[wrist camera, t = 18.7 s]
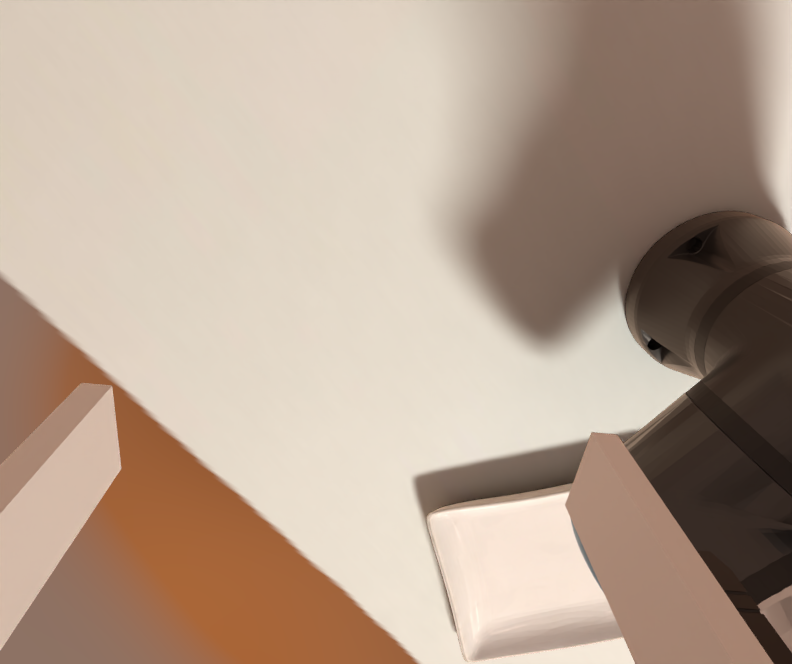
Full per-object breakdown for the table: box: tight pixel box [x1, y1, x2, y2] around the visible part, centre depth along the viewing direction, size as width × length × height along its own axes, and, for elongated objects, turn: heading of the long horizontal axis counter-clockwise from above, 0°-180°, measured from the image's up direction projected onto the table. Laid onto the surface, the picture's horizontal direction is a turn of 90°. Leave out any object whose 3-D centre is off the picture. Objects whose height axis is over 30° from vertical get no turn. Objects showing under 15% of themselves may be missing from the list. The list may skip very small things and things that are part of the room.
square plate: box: [427, 483, 624, 662], centre depth 62 cm, size 27×27×4 cm
